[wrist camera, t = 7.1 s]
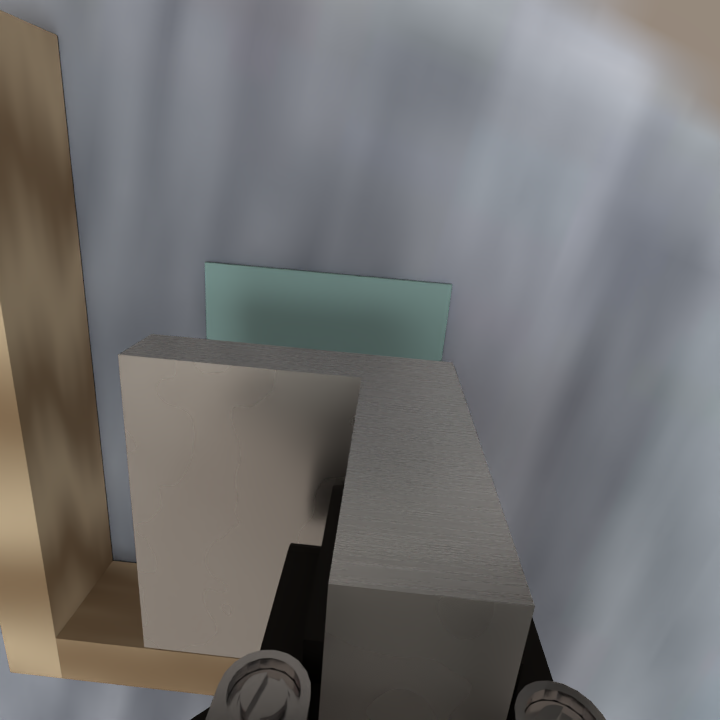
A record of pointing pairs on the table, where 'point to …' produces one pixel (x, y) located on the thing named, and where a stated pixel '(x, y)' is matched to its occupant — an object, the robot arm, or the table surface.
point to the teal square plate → (326, 311)
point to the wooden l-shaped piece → (58, 414)
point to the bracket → (308, 518)
